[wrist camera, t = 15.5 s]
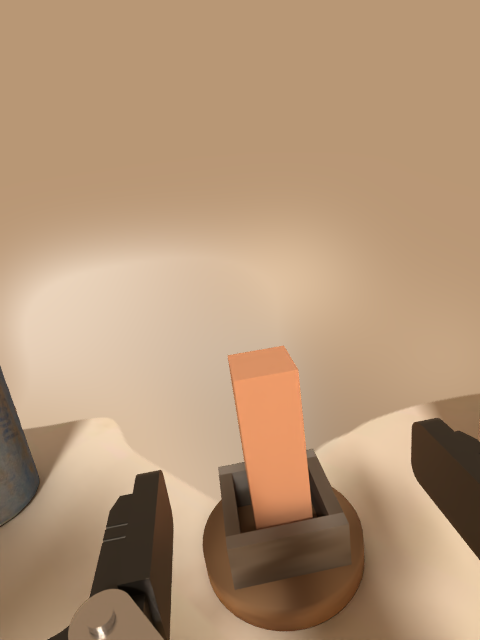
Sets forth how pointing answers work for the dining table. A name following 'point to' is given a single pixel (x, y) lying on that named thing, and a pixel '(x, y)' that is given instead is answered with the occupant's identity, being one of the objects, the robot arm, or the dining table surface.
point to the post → (272, 435)
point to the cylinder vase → (479, 431)
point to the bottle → (14, 460)
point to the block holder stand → (283, 555)
